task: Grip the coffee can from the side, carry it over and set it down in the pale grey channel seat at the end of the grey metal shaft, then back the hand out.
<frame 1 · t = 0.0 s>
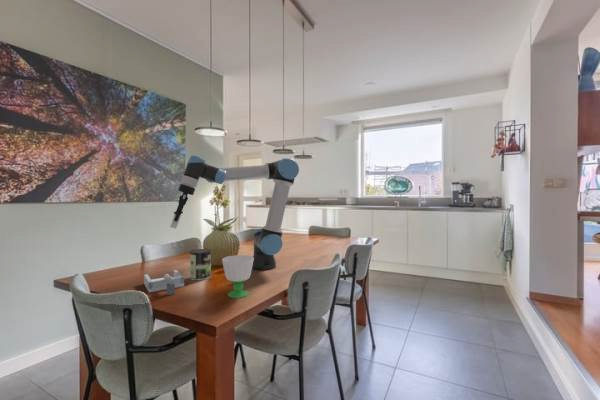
hand: (173, 226, 146), 28 cm above the table, tool tilted 20°, fingers open, 13 cm apart
coffee can: (200, 277, 154), on the table
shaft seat: (163, 285, 142), on the table
cup: (238, 294, 130), on the table
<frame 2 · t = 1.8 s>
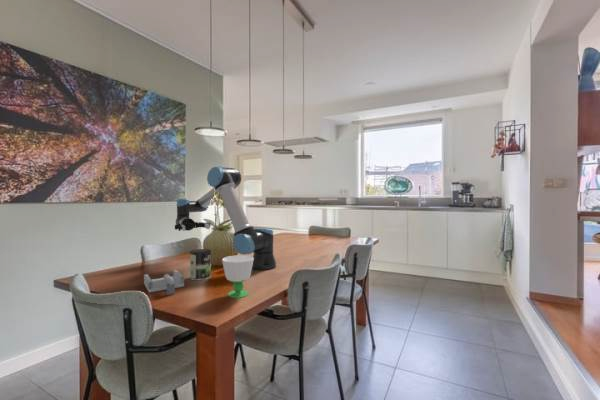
hand: (197, 227, 167), 25 cm above the table, tool horizontal, fingers open, 13 cm apart
nothing on the table moved.
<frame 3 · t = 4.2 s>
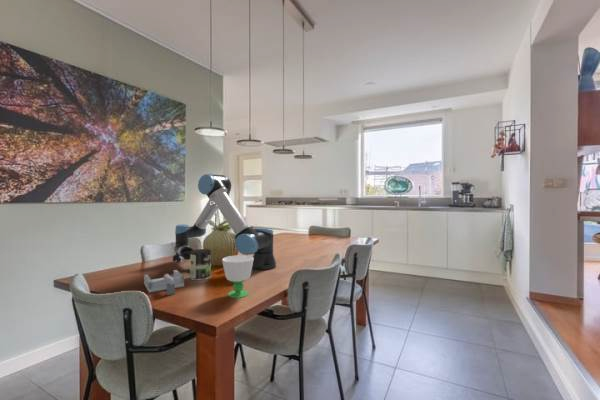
hand: (196, 259, 159), 8 cm above the table, tool horizontal, fingers open, 13 cm apart
nothing on the table moved.
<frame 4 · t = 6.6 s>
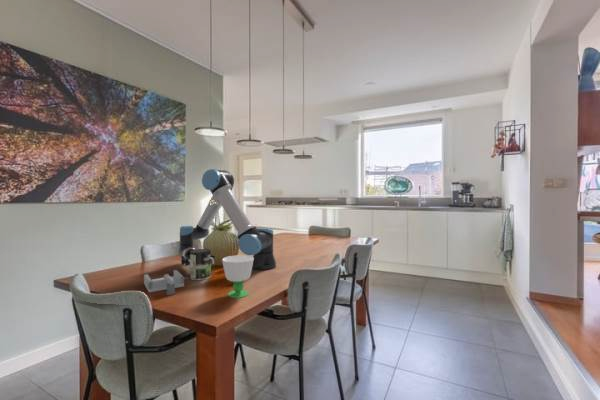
hand: (203, 262, 151), 9 cm above the table, tool horizontal, fingers closed on coffee can, 10 cm apart
coffee can: (200, 277, 154), on the table, touching gripper
everything else where it was.
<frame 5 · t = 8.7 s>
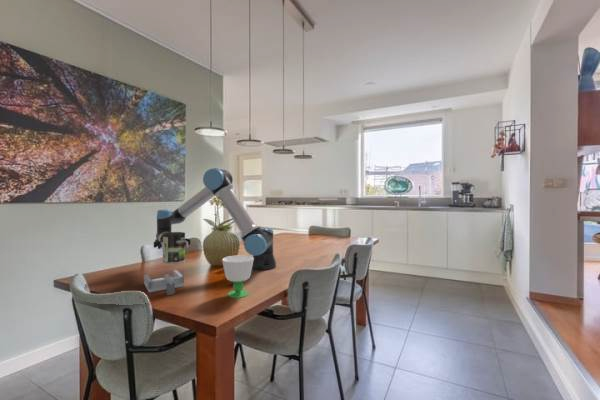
hand: (175, 245, 143), 19 cm above the table, tool horizontal, fingers closed on coffee can, 10 cm apart
coffee can: (174, 261, 147), point 10 cm above the table, touching gripper
everything else where it was.
when the fingers open (11 cm above the table, at t = 11.2 s): coffee can drops 1 cm, resting on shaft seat.
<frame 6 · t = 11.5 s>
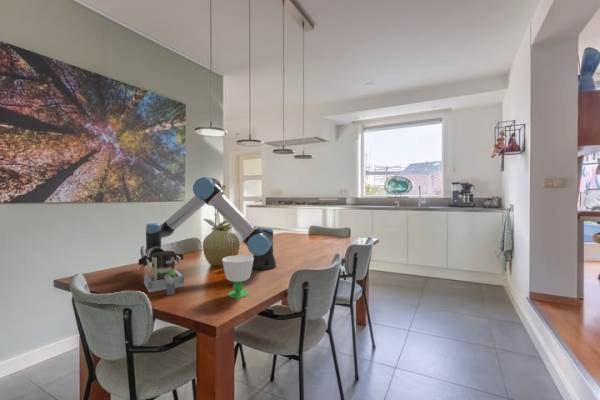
hand: (165, 262, 139), 11 cm above the table, tool horizontal, fingers open, 13 cm apart
coffee can: (163, 282, 142), point 1 cm above the table, touching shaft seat
everything else where it was.
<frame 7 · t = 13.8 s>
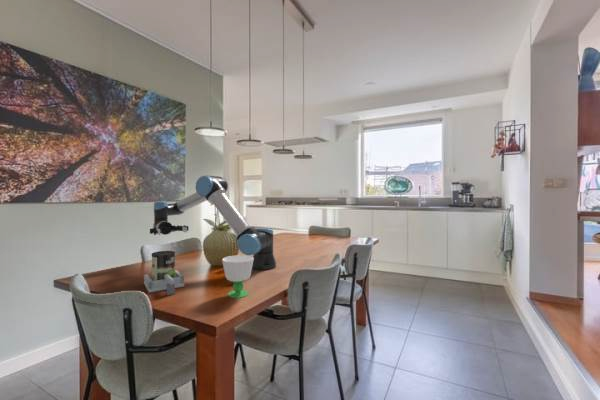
hand: (173, 231, 159), 24 cm above the table, tool horizontal, fingers open, 13 cm apart
nothing on the table moved.
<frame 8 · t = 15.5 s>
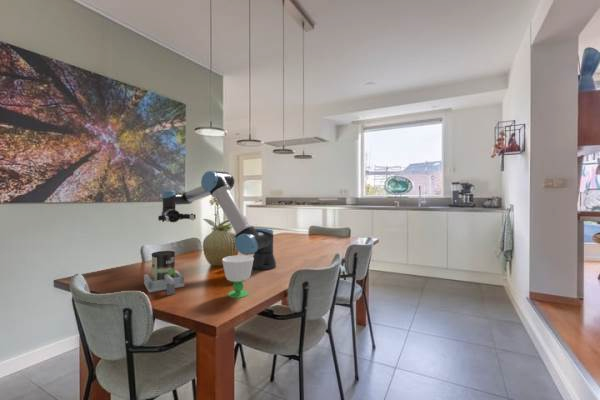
hand: (180, 218, 164), 30 cm above the table, tool horizontal, fingers open, 13 cm apart
nothing on the table moved.
at the end: coffee can inside the target area on the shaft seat (0.1 cm from its centre), point 1.3 cm above the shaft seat's base; coffee can tilted 0°; the gripper is holding nothing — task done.
